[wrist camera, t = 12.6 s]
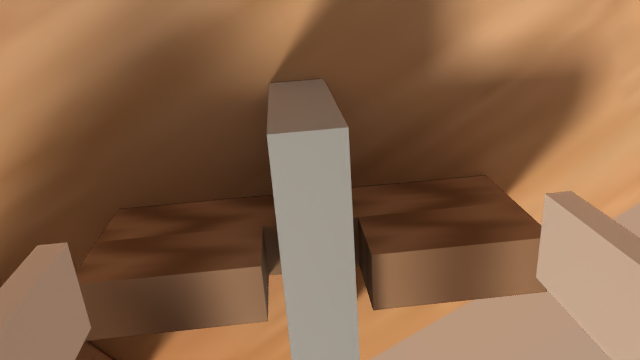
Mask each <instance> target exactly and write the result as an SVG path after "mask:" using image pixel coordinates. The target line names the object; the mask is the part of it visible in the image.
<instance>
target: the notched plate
mask: <svg viewBox="0 0 640 360" xmlns="http://www.w3.org/2000/svg"><path fill="white" fill-rule="evenodd" d="M267 142H268V151H269V160H270V169H271V178H272V187H273V196H274V205H275V214H276V223H277V232H278V241H279V250H280V259H281V268H282V277H283V286H284V295H285V304H286V313H287V322H288V331H289V340H290V349H291V358H292V360H360V354H359V333H358V313H357V292H356V272H355V251H354V230H353V210H352V189H351V168H350V148H349V127H348V125H347V123H346V121H345V119H344V118H343V116H342V114H341V112H340V110H339V108H338V106H337V104H336V102H335V100H334V98H333V96H332V94H331V92H330V90H329V88H328V87H327V85H326V83H325V81H324V79H313V80H301V81H289V82H277V83H269V91H268V115H267Z"/></svg>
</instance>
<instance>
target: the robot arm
mask: <svg viewBox="0 0 640 360" xmlns="http://www.w3.org/2000/svg"><path fill="white" fill-rule="evenodd" d="M536 278H537V279H538V280H539V281H540V282H541V283H542V284H543V286H544V287H545V288H546V289H547V290H548V291H549V292H550V293H551V294H552V295H553V296H554V298H555V299H556V300H557V301H558V302H559V303H560V304H561V305H562V306H563V307H564V308H565V310H566V311H567V312H568V313H569V314H570V315H571V316H572V317H573V318H574V319H575V320H576V322H577V323H578V324H579V325H580V326H581V327H582V328H583V329H584V330H585V331H586V332H587V334H588V335H589V336H590V337H591V338H592V339H593V340H594V341H595V342H596V343H597V344H598V345H599V347H600V348H601V349H602V350H603V351H604V352H605V353H606V354H607V355H608V356H609V358H610V359H611V360H640V238H639V237H638V236H636V235H635V234H633V233H632V232H630V231H629V230H627V229H626V228H624V227H623V226H622V225H620V224H619V223H617V222H616V221H614V220H613V219H611V218H610V217H608V216H607V215H605V214H604V213H603V212H601V211H600V210H598V209H597V208H595V207H594V206H592V205H591V204H589V203H588V202H586V201H585V200H584V199H582V198H581V197H579V196H578V195H576V194H575V193H573V192H572V191H567V192H557V193H547V194H545V200H544V209H543V218H542V227H541V236H540V245H539V254H538V263H537V272H536ZM90 329H91V325H90V322H89V318H88V315H87V311H86V308H85V304H84V301H83V297H82V293H81V290H80V286H79V283H78V279H77V276H76V272H75V269H74V265H73V262H72V258H71V254H70V251H69V247H68V244H67V242H65V243H55V244H46V245H37V246H36V247H35V248H34V250H33V251H32V252H31V253H30V254H29V255H28V256H27V258H26V259H25V260H24V261H23V262H22V263H21V265H20V266H19V267H18V268H17V269H16V270H15V271H14V273H13V274H12V275H11V276H10V277H9V278H8V280H7V281H6V282H5V283H4V284H3V285H2V286H1V288H0V360H75V359H76V357H77V355H78V353H79V351H80V349H81V347H82V345H83V343H84V341H85V339H86V337H87V335H88V333H89V331H90Z"/></svg>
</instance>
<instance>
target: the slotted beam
mask: <svg viewBox="0 0 640 360" xmlns="http://www.w3.org/2000/svg"><path fill="white" fill-rule="evenodd" d="M351 189H352V210H353V230H354V251H355V267H357V266H360V268H361V272H362V275H363V278H364V281H365V285H366V288H367V291H368V295H369V298H370V301H371V304H372V308H373V310H380V309H390V308H399V307H408V306H418V305H427V304H437V303H446V302H455V301H465V300H474V299H483V298H492V297H502V296H512V295H521V294H529V293H539V292H547V289H546V288H545V287H544V286H543V284H542V283H541V282H540V281H539V280H538V279H537V278H536V272H537V263H538V254H539V245H540V236H541V227H542V226H541V225H540V224H539V223H538V222H537V221H536V220H534V219H533V218H532V217H531V216H530V215H529V214H528V213H527V212H526V211H525V210H523V209H522V208H521V207H520V206H519V205H518V204H517V203H516V202H515V201H514V200H513V199H511V198H510V197H509V196H508V195H507V194H506V193H505V192H504V191H503V190H502V189H500V188H499V187H498V186H497V185H496V184H495V183H494V182H493V181H492V180H491V179H489V178H488V177H487V176H486V175H484V176H473V177H462V178H451V179H440V180H430V181H419V182H408V183H397V184H386V185H375V186H365V187H354V188H351ZM278 274H282V268H281V259H280V250H279V241H278V232H277V223H276V214H275V205H274V196H273V195H267V196H256V197H245V198H235V199H224V200H213V201H202V202H191V203H180V204H170V205H159V206H148V207H137V208H126V209H118V211H117V212H116V214H115V215H114V217H113V218H112V220H111V221H110V222H109V224H108V225H107V227H106V228H105V230H104V231H103V233H102V234H101V236H100V237H99V239H98V240H97V242H96V243H95V245H94V246H93V248H92V249H91V250H90V252H89V253H88V255H87V256H86V258H85V259H84V261H83V262H82V264H81V265H80V267H79V268H78V270H77V271H76V276H77V279H78V283H79V286H80V290H81V293H82V297H83V301H84V304H85V308H86V311H87V315H88V318H89V322H90V325H91V329H90V331H89V333H88V335H87V337H86V339H85V341H89V340H98V339H107V338H117V337H126V336H136V335H145V334H154V333H164V332H173V331H183V330H192V329H201V328H211V327H220V326H230V325H239V324H248V323H258V322H267V321H268V283H269V275H278Z"/></svg>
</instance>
